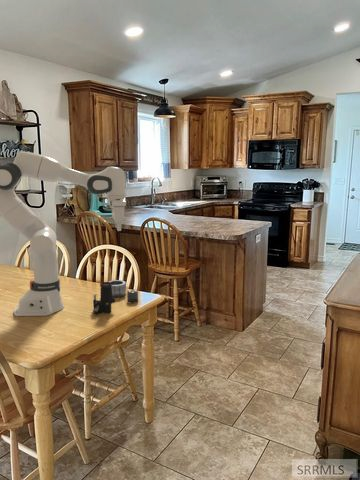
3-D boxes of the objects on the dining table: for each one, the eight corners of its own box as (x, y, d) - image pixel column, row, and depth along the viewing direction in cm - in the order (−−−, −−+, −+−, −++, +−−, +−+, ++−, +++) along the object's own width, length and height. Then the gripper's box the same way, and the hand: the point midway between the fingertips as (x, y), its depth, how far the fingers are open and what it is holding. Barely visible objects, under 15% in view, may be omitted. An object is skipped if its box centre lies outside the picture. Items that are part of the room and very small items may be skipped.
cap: (128, 303, 194) (127, 292, 193) (126, 299, 199) (126, 289, 198) (138, 302, 195) (138, 291, 194) (137, 298, 201) (137, 288, 199)
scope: (92, 282, 183) (113, 280, 185) (93, 309, 185) (114, 307, 188) (93, 287, 175) (115, 285, 178) (94, 316, 178) (116, 313, 181)
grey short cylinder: (107, 298, 201) (107, 286, 200) (106, 292, 210) (105, 280, 209) (127, 296, 203) (126, 285, 202) (124, 290, 213) (124, 279, 212)
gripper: (108, 199, 194) (109, 226, 197) (112, 203, 175) (113, 233, 178) (120, 198, 196) (122, 225, 199) (126, 202, 177) (127, 232, 180)
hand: (118, 229), depth 188 cm, fingers open, 8 cm apart
